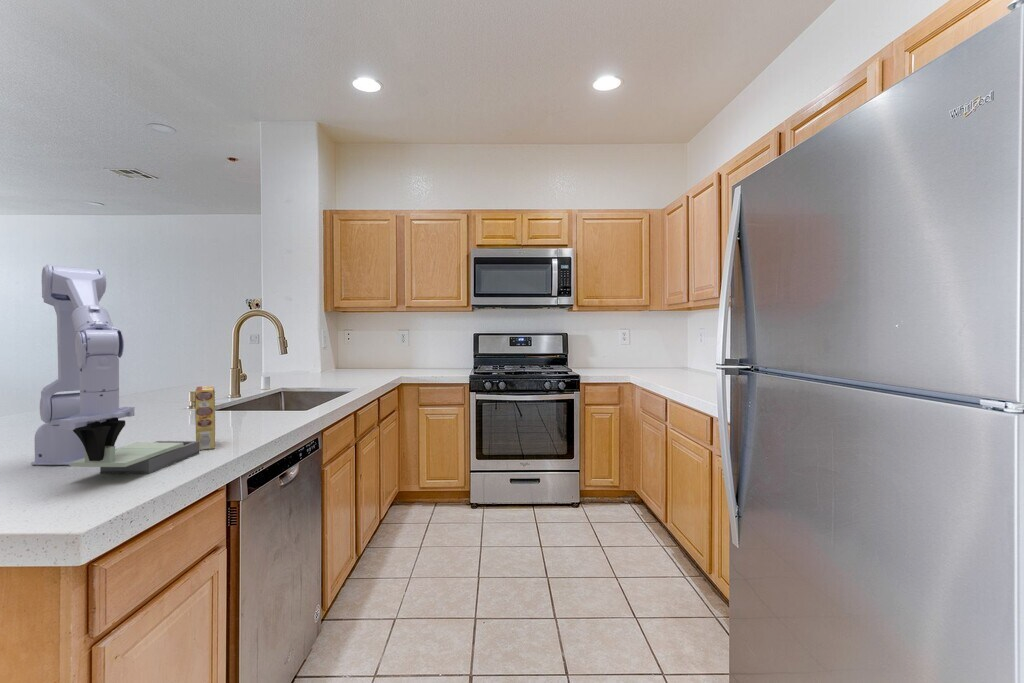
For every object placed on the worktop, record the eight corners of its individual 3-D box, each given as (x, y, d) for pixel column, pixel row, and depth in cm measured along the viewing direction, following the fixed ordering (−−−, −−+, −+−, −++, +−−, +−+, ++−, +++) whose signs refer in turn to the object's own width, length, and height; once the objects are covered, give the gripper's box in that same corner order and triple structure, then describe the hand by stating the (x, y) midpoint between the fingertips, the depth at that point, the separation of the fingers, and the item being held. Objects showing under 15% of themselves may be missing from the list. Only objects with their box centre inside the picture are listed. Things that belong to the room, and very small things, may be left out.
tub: (100, 473, 95) (100, 459, 95) (157, 453, 111) (157, 440, 111) (148, 473, 95) (148, 459, 95) (199, 453, 111) (199, 441, 111)
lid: (69, 466, 89) (69, 447, 89) (136, 445, 105) (136, 429, 105) (125, 466, 89) (125, 447, 89) (183, 446, 105) (183, 429, 105)
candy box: (215, 449, 116) (215, 389, 116) (194, 451, 114) (194, 390, 113) (215, 441, 123) (215, 385, 123) (196, 443, 121) (196, 386, 121)
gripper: (87, 395, 82) (87, 470, 82) (149, 386, 97) (149, 449, 97) (47, 395, 82) (47, 470, 82) (115, 385, 96) (115, 449, 97)
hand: (100, 459), depth 89 cm, fingers closed on lid
